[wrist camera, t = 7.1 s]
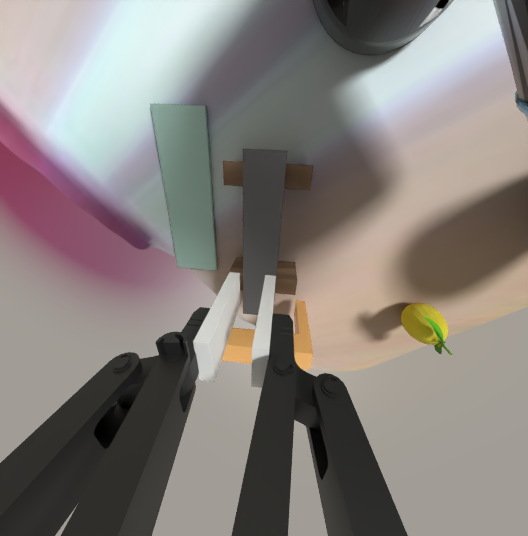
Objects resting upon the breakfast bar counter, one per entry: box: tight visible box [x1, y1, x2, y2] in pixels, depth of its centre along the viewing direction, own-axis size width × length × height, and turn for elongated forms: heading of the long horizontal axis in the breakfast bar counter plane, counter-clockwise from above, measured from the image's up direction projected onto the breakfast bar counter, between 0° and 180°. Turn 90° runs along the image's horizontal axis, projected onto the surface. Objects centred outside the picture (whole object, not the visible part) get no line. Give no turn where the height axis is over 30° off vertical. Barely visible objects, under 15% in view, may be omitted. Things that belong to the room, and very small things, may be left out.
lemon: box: [401, 303, 452, 355], centre depth 31 cm, size 7×6×10 cm
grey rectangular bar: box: [243, 149, 287, 315], centre depth 24 cm, size 19×4×4 cm, turn 177°
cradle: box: [223, 161, 313, 295], centre depth 29 cm, size 17×10×6 cm, turn 177°
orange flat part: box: [222, 300, 313, 370], centre depth 30 cm, size 3×14×11 cm, turn 87°
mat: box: [150, 104, 217, 270], centre depth 30 cm, size 23×7×1 cm, turn 177°
